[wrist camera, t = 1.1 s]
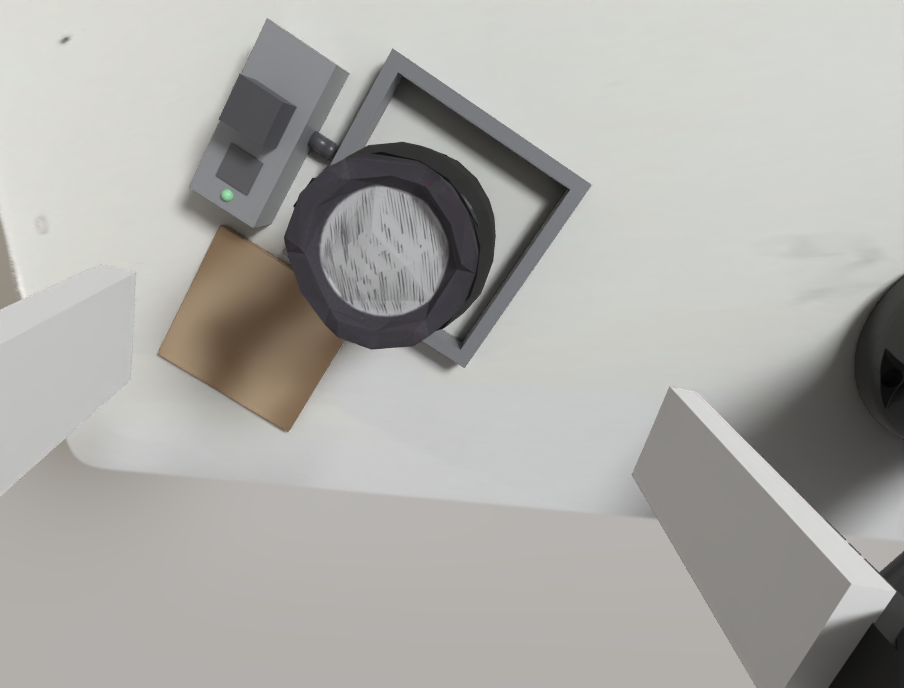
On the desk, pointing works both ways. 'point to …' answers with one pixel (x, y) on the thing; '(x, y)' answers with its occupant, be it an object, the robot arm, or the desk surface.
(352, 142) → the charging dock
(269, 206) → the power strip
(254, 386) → the cork mat
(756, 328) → the desk surface
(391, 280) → the portable speaker
